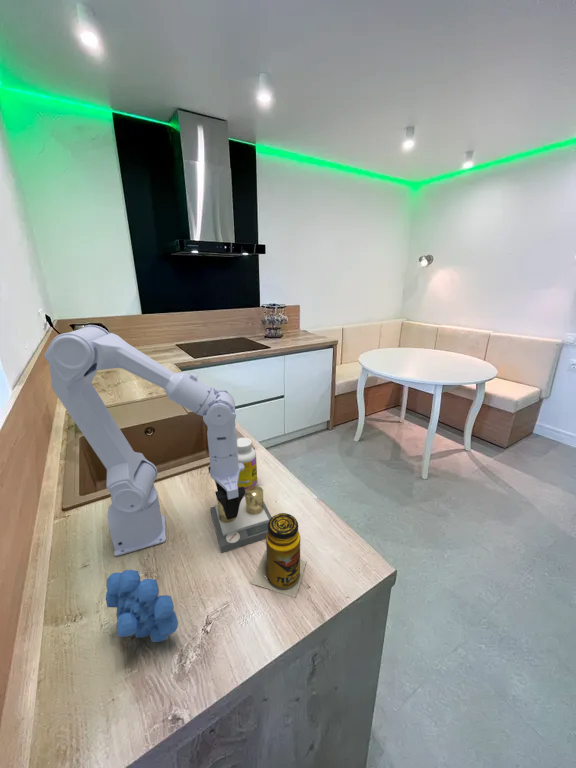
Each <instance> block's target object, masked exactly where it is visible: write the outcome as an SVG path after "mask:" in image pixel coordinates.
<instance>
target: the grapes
mask: <svg viewBox="0 0 576 768" xmlns="http://www.w3.org/2000/svg"><path fill="white" fill-rule="evenodd" d="M159 593H160V588H159V585H158V581H157V579H153V578H145V579H144V578H143V580H141V576H140V572H139V571H138V570H134V569H126V570H124V571H122V572H112V573H111V574H110V575H108V577H107V579H106V593H105V602H106V606H107V608H116V620H117V621H116V631H117V635H118V637H119V638H120V637H122V638H123V637H124V638H125V637H131V636H133V635H134V636H135V638H146V637H148V636H149V637H150V641H151V642H153V643H159V642H163V641H166V640H167V639H168V637H169V636H170V635H172V634H173V633H175V632H176V631H177V630H178V628H179V620H178V616H177V613H176V611H175V610H174V609H175V606H174V605H175V604H174V601H173V599H172V596H171V595H166V594H165V595H159Z"/></svg>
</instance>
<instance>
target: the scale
mask: <svg viewBox="0 0 576 768" xmlns="http://www.w3.org/2000/svg"><path fill="white" fill-rule="evenodd" d="M263 503H264V509H263V511H262V512H261V513H259V514H256V515H252V514H249V513H248V512H247V511H246V500H245V497H243V498H242V500H241V502H240V506H239V510H238V515H237V517H236V519H235V520H234V521H232V522H229V523H223V522H221V521H220V520H219V516H218V505H217V504H216V505H214V506H210V513H211V517H212V518H211V519H212V522H213V526H214V529H215V534H216V539H217V542H218V546H219V549H220V553H221V554H223V553H224V552H229V551H231V550H234V549H238V548H241V547H244V546H247V545H249V544H254V543H256V542H258V541H262V540H266V535H267V533H268V523H269V520H270V519H271V518H272V517H273V516H272V515H271V513H270V511H269V509H268V506H267V505H266V503H265V501H264V500H263Z"/></svg>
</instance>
